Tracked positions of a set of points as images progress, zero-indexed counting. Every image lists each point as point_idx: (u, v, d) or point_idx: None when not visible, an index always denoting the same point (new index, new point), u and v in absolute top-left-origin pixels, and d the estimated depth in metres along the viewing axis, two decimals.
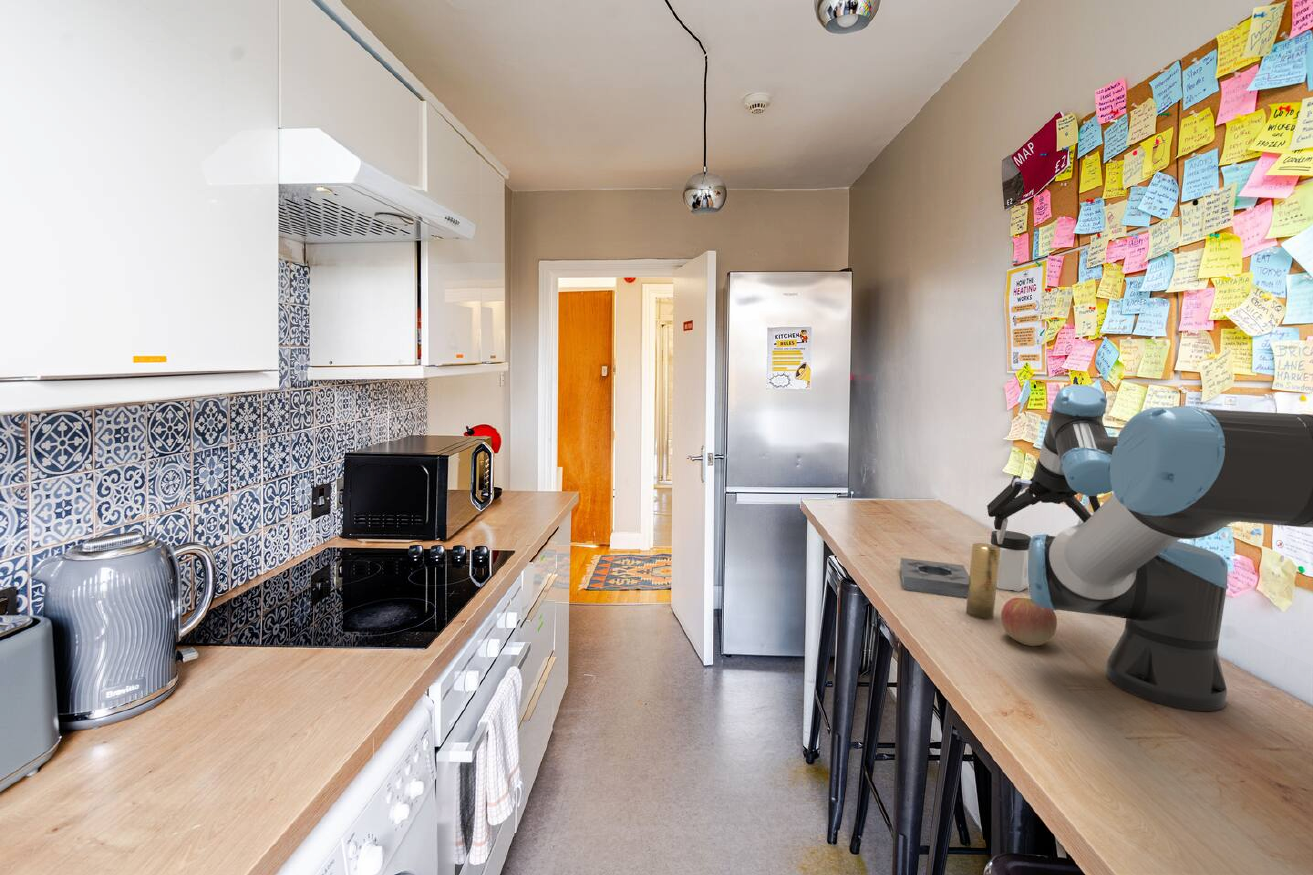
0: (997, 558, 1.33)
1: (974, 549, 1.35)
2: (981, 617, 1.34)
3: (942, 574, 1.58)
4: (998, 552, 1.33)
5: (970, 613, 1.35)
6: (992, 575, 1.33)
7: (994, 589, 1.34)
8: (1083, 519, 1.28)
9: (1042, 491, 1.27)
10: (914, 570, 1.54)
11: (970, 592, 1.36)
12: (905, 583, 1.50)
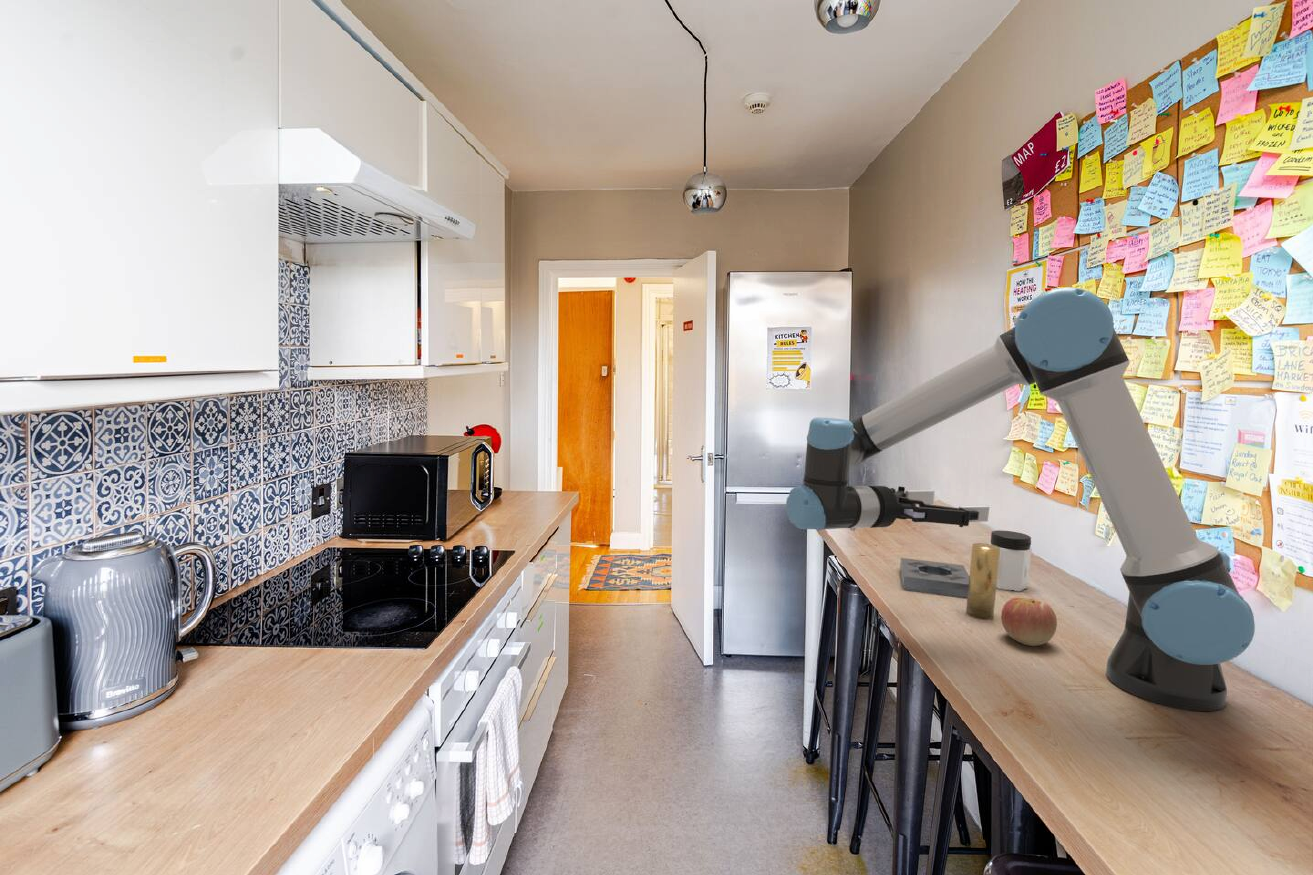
0: (997, 558, 1.33)
1: (974, 549, 1.35)
2: (981, 617, 1.34)
3: (942, 574, 1.58)
4: (998, 552, 1.33)
5: (970, 613, 1.35)
6: (992, 575, 1.33)
7: (994, 589, 1.34)
8: (900, 492, 1.33)
9: (903, 502, 1.23)
10: (914, 570, 1.54)
11: (970, 592, 1.36)
12: (905, 583, 1.50)
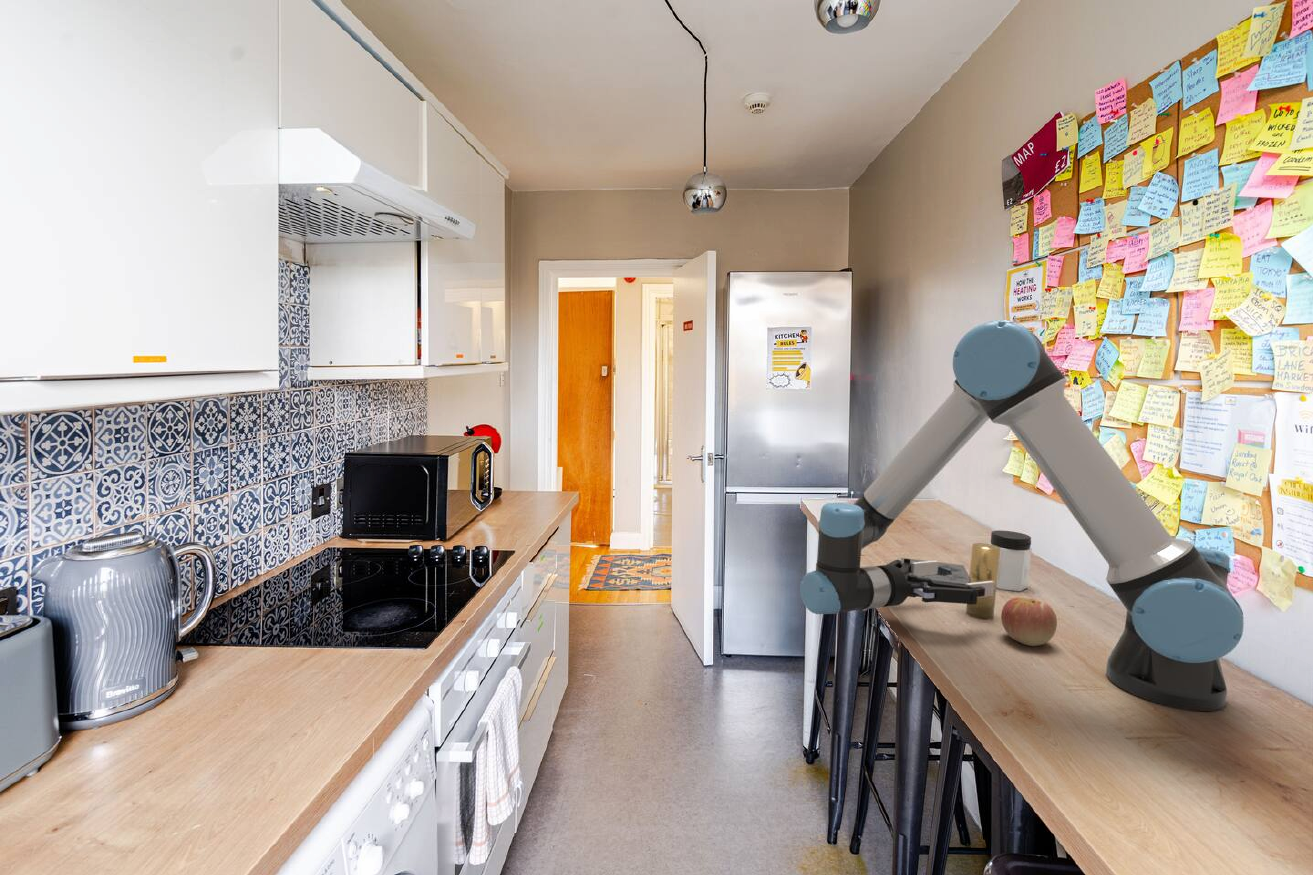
0: (997, 558, 1.33)
1: (974, 549, 1.35)
2: (981, 617, 1.34)
3: (942, 574, 1.58)
4: (998, 552, 1.33)
5: (970, 613, 1.35)
6: (992, 575, 1.33)
7: (994, 589, 1.34)
8: (907, 565, 1.36)
9: (912, 580, 1.27)
10: None
11: None
12: None
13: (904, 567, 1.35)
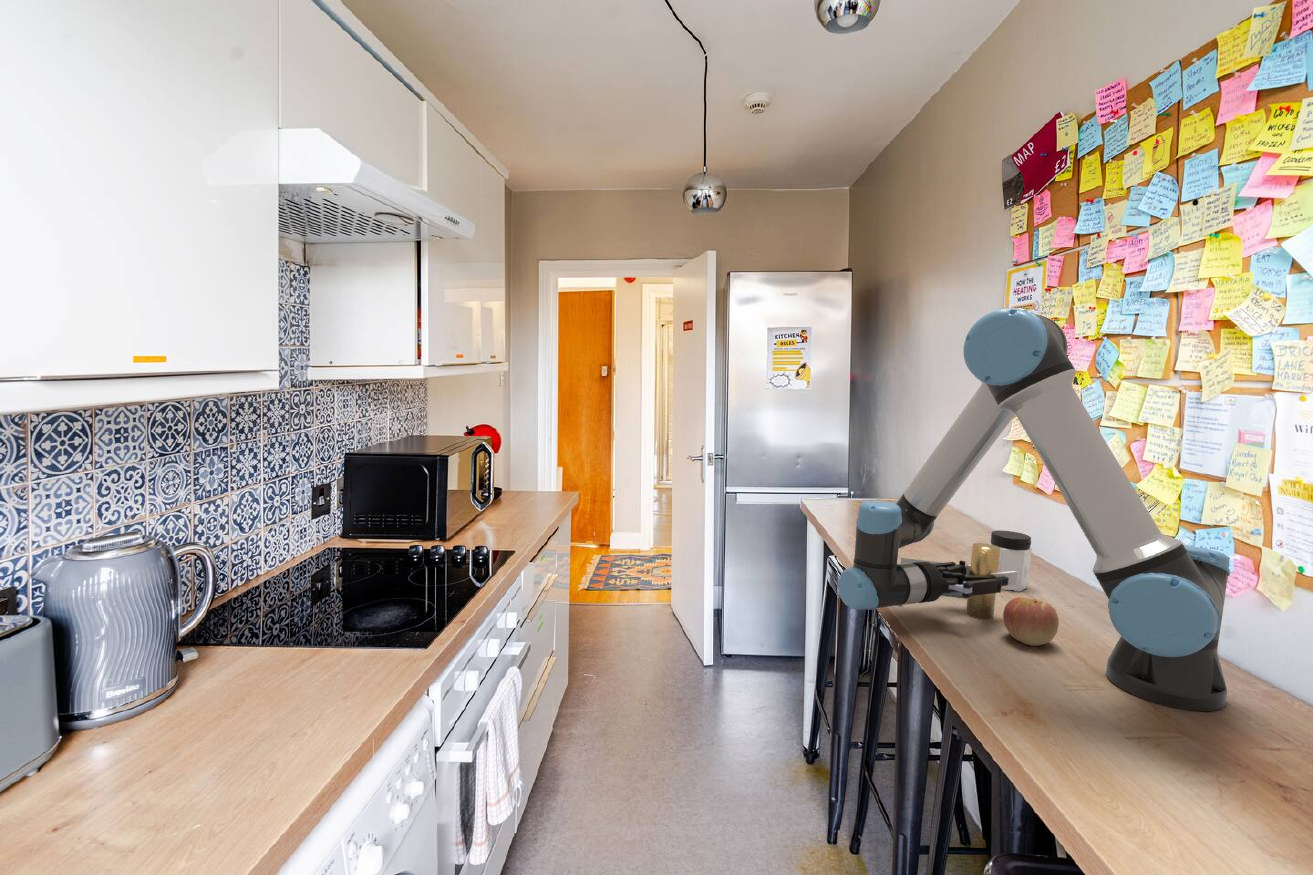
0: (997, 558, 1.33)
1: (974, 549, 1.35)
2: (981, 617, 1.34)
3: None
4: (998, 552, 1.33)
5: (970, 613, 1.35)
6: None
7: None
8: (957, 566, 1.37)
9: (948, 577, 1.29)
10: None
11: None
12: None
13: (951, 567, 1.36)
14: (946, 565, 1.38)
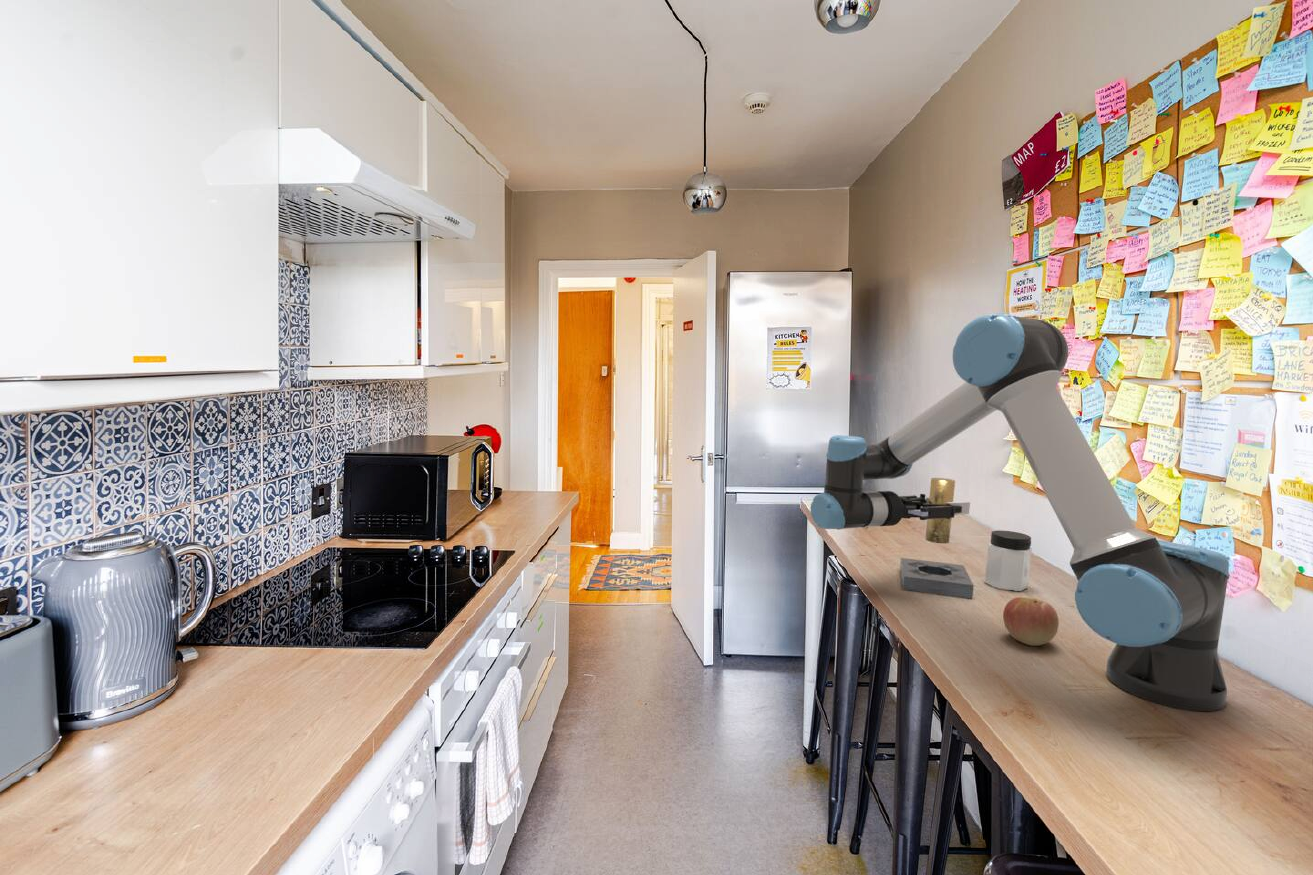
0: (952, 489, 1.51)
1: (932, 482, 1.53)
2: (938, 542, 1.52)
3: (942, 574, 1.58)
4: (953, 484, 1.51)
5: (929, 539, 1.53)
6: None
7: None
8: (918, 498, 1.55)
9: (908, 504, 1.47)
10: (914, 570, 1.54)
11: (929, 520, 1.54)
12: (905, 583, 1.50)
13: (912, 498, 1.54)
14: (908, 497, 1.56)
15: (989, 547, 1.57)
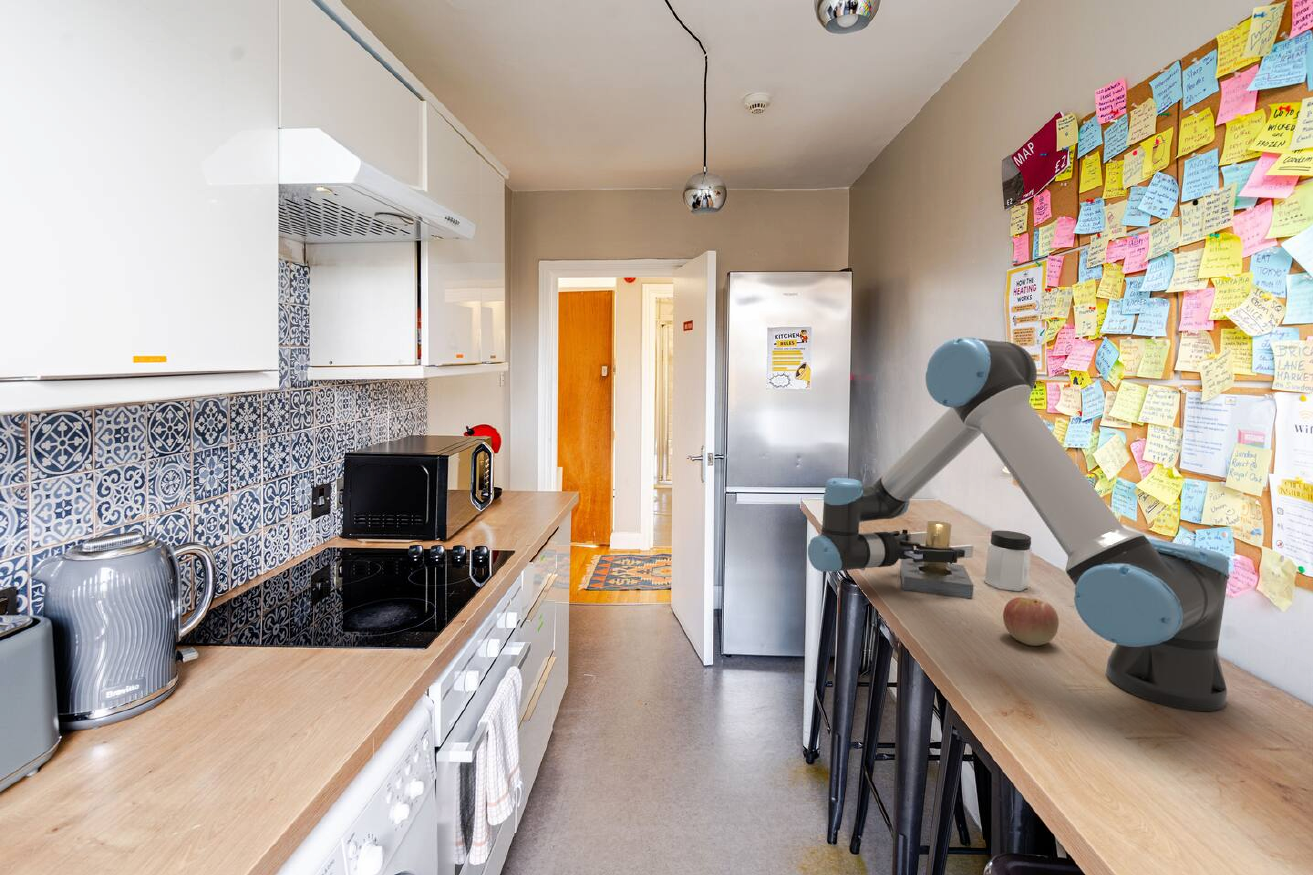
0: (948, 533, 1.52)
1: (929, 526, 1.54)
2: None
3: None
4: (949, 528, 1.52)
5: None
6: None
7: None
8: (903, 535, 1.58)
9: (904, 545, 1.48)
10: (914, 570, 1.54)
11: (925, 563, 1.55)
12: (905, 583, 1.50)
13: (900, 536, 1.56)
14: (894, 534, 1.59)
15: (989, 547, 1.57)
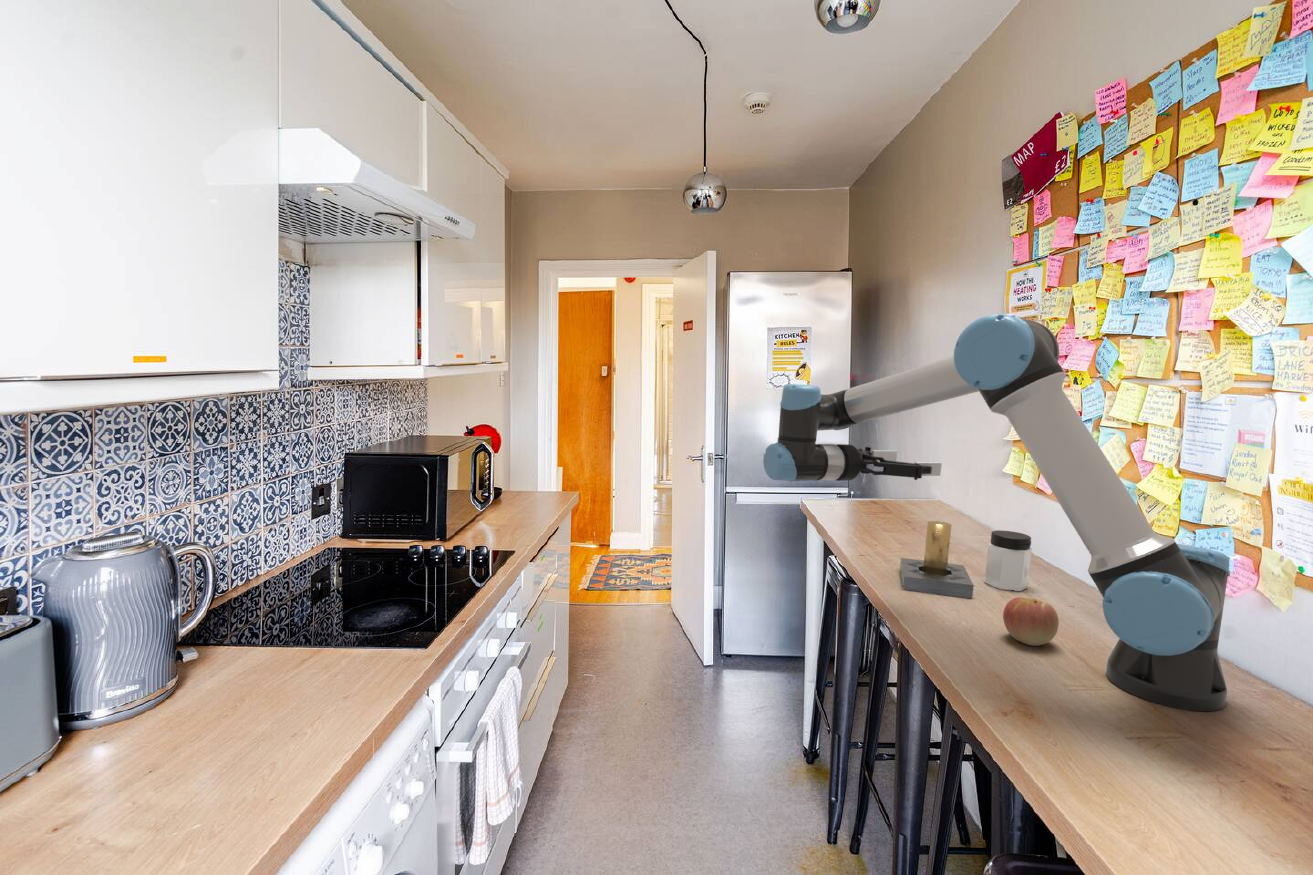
0: (948, 533, 1.52)
1: (929, 525, 1.54)
2: None
3: None
4: (949, 528, 1.52)
5: None
6: (944, 548, 1.52)
7: (946, 561, 1.53)
8: (866, 451, 1.51)
9: (866, 458, 1.41)
10: (914, 570, 1.54)
11: (925, 563, 1.55)
12: (905, 583, 1.50)
13: (863, 452, 1.49)
14: (857, 451, 1.52)
15: (989, 547, 1.57)
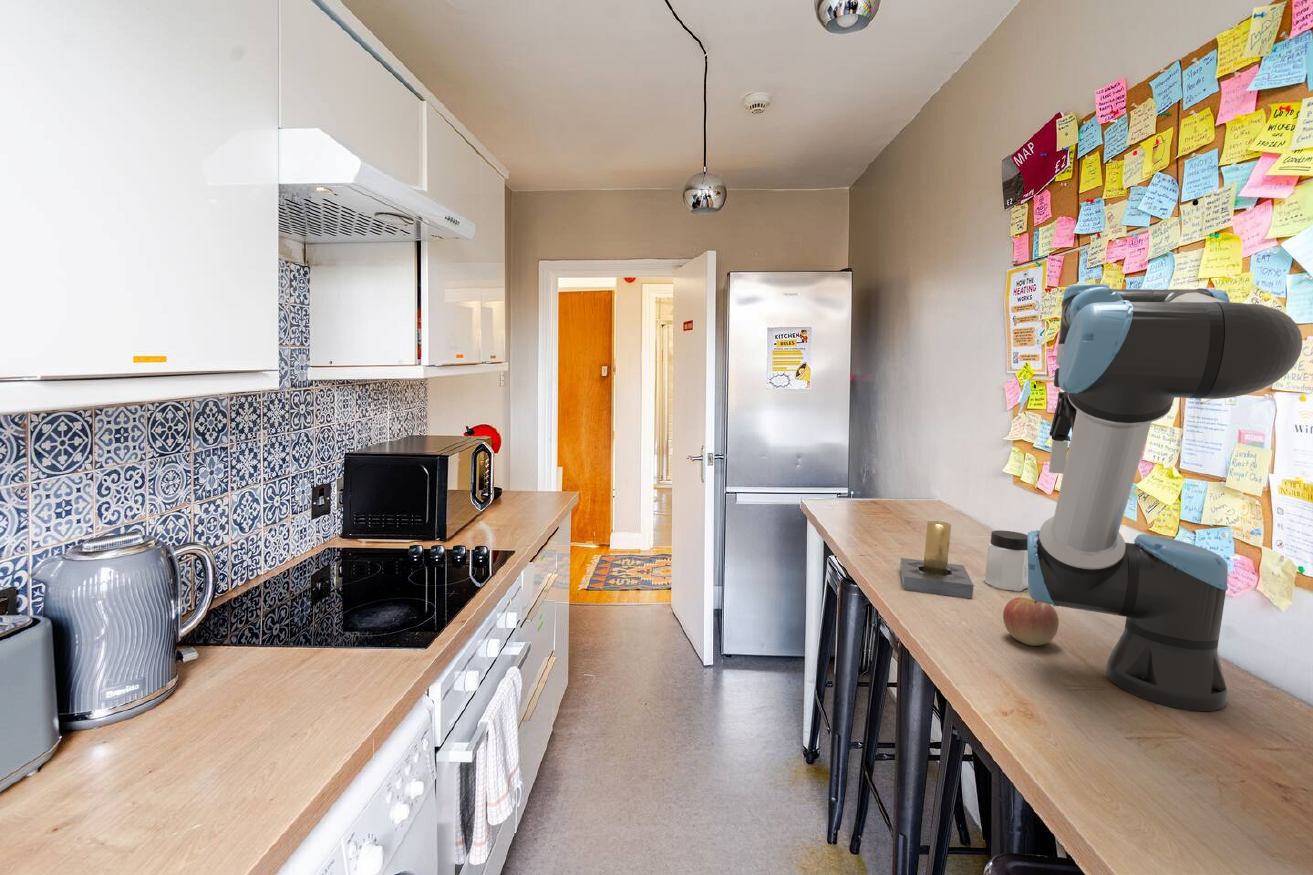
0: (948, 534, 1.52)
1: (928, 526, 1.54)
2: None
3: None
4: (949, 528, 1.52)
5: None
6: (944, 548, 1.52)
7: (945, 561, 1.53)
8: None
9: None
10: (914, 570, 1.54)
11: (925, 564, 1.55)
12: (905, 583, 1.50)
13: (1072, 427, 1.26)
14: None
15: (989, 547, 1.57)
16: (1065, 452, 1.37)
